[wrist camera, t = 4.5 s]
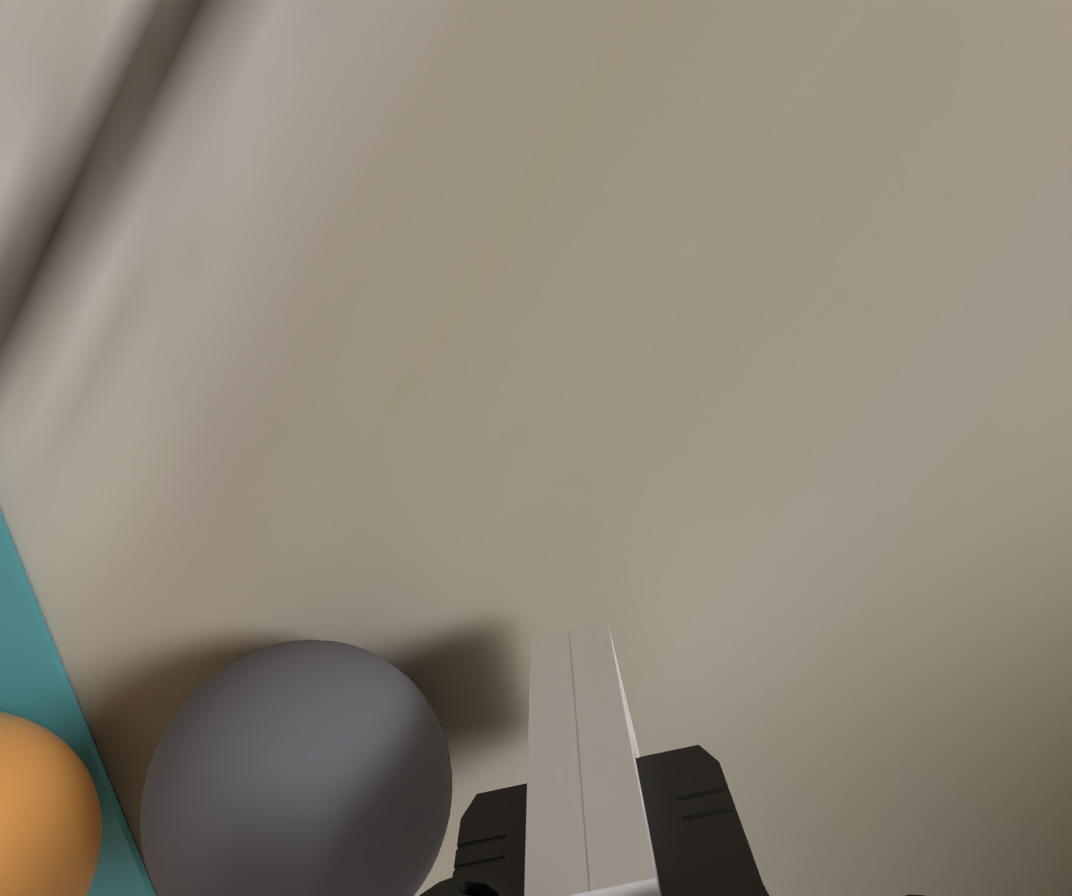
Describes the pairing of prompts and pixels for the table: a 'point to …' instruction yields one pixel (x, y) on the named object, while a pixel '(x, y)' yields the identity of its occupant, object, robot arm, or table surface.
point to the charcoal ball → (298, 780)
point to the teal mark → (59, 717)
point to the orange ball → (45, 814)
